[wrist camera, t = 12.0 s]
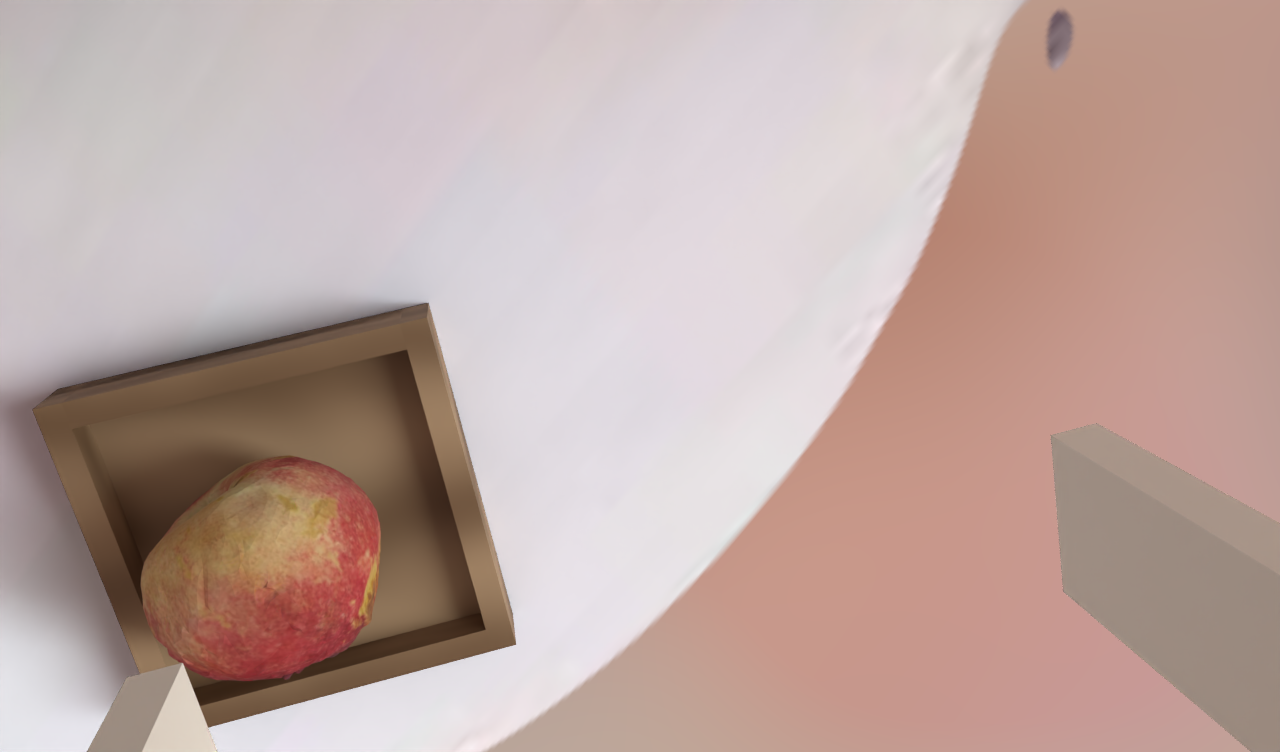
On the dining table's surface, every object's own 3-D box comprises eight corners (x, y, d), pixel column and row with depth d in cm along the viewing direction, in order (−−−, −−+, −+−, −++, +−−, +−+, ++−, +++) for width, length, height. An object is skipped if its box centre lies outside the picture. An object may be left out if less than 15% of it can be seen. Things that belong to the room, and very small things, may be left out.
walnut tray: (58, 388, 39) (32, 409, 36) (428, 302, 40) (427, 317, 38) (182, 702, 43) (166, 738, 41) (512, 613, 44) (516, 644, 42)
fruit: (362, 407, 40) (340, 485, 32) (411, 582, 42) (401, 693, 35) (155, 453, 39) (83, 545, 31) (217, 629, 41) (164, 754, 34)
